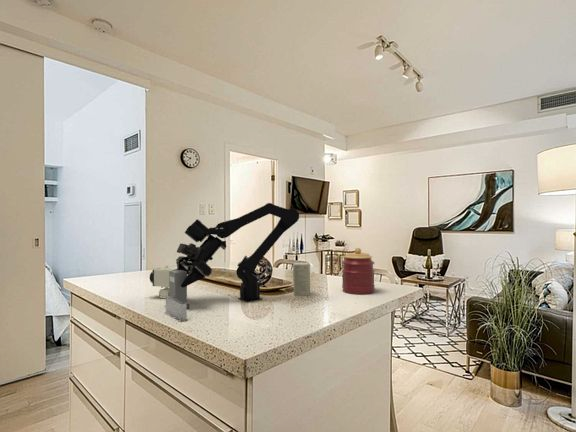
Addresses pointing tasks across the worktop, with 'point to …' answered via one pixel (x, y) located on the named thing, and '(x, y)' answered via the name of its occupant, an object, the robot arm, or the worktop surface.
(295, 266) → the skincare box
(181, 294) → the block
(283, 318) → the worktop surface
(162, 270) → the pneumatic valve
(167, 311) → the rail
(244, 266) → the robot arm
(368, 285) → the canister
